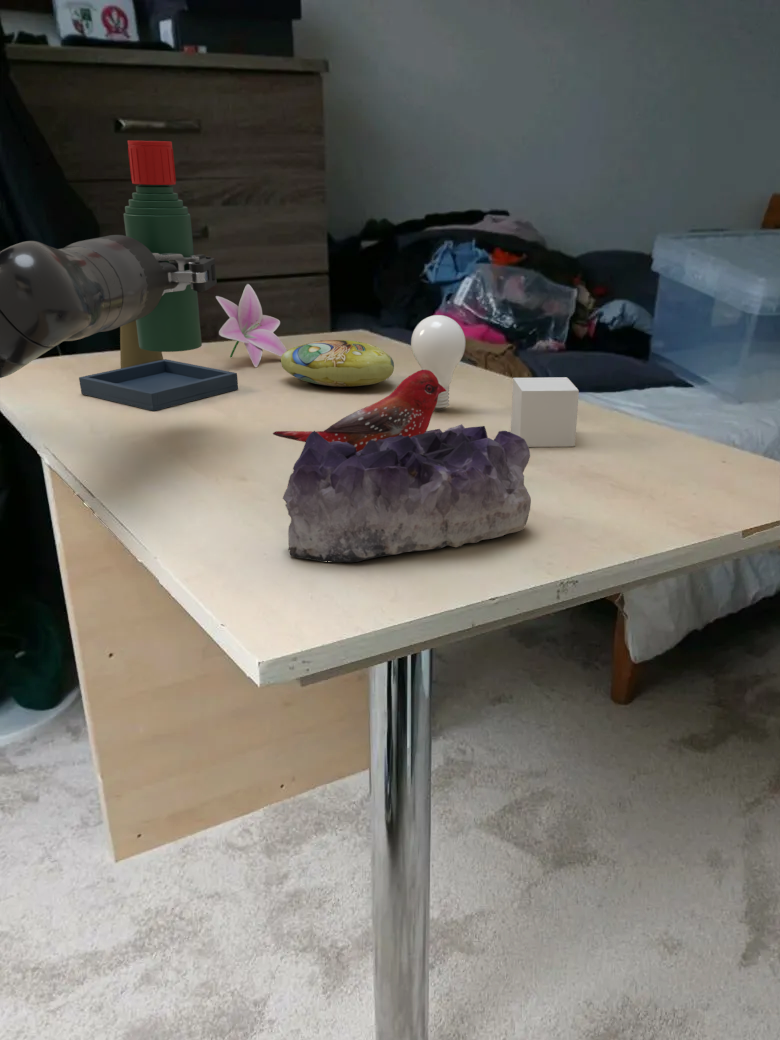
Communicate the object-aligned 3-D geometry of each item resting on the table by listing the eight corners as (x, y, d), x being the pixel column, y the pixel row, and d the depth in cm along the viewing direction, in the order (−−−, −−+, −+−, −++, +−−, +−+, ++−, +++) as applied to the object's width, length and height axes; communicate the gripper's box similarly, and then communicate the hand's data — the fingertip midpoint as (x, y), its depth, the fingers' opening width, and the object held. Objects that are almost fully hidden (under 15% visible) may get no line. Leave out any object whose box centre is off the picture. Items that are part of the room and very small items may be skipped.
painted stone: (376, 379, 116) (271, 325, 117) (362, 429, 121) (263, 377, 123) (413, 345, 123) (315, 295, 125) (399, 393, 129) (305, 345, 130)
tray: (153, 411, 111) (151, 393, 110) (81, 394, 117) (78, 377, 116) (238, 389, 121) (237, 372, 120) (167, 374, 127) (165, 359, 127)
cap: (151, 185, 90) (146, 140, 88) (123, 183, 92) (118, 140, 91) (184, 184, 93) (181, 142, 92) (157, 183, 95) (152, 141, 94)
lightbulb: (472, 406, 114) (474, 313, 109) (450, 419, 109) (452, 321, 104) (425, 400, 117) (425, 309, 112) (402, 412, 111) (401, 317, 106)
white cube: (563, 430, 105) (567, 377, 103) (574, 446, 100) (579, 390, 97) (510, 431, 105) (512, 377, 102) (519, 447, 100) (522, 390, 97)
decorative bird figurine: (453, 473, 92) (454, 369, 87) (283, 505, 83) (276, 392, 79) (437, 465, 94) (438, 364, 89) (271, 495, 85) (262, 385, 81)
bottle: (166, 354, 95) (145, 146, 87) (126, 346, 99) (101, 145, 91) (214, 345, 100) (198, 148, 92) (174, 338, 103) (155, 146, 95)
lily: (208, 378, 130) (232, 318, 125) (186, 331, 137) (208, 272, 132) (285, 394, 138) (311, 338, 133) (260, 348, 144) (284, 294, 139)
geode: (322, 591, 67) (303, 453, 64) (271, 554, 77) (252, 433, 74) (557, 532, 76) (551, 408, 73) (484, 505, 86) (476, 395, 82)
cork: (161, 363, 134) (151, 282, 129) (169, 371, 129) (159, 288, 124) (117, 366, 131) (105, 284, 127) (124, 375, 127) (112, 290, 122)
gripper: (179, 241, 81) (235, 227, 96) (18, 235, 82) (98, 223, 97) (188, 330, 84) (240, 303, 99) (32, 324, 85) (108, 298, 100)
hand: (170, 264), depth 98 cm, fingers closed on bottle, 6 cm apart
